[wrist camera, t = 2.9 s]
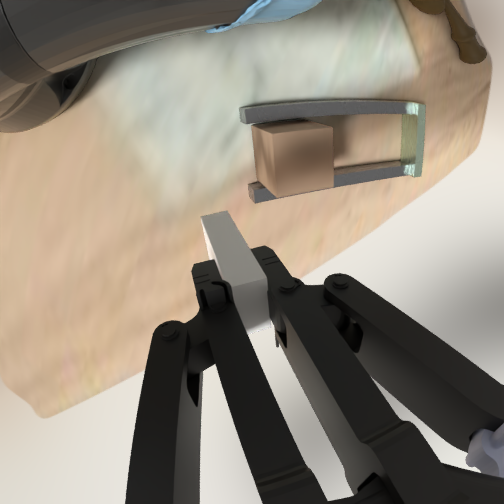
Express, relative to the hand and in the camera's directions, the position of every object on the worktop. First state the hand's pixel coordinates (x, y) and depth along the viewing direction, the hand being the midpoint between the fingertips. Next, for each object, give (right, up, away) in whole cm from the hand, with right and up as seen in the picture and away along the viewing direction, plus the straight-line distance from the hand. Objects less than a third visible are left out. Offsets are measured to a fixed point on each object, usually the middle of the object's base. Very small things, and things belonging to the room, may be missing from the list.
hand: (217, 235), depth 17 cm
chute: (+12, +12, +16) cm, 23 cm away
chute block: (+5, +10, +14) cm, 18 cm away
